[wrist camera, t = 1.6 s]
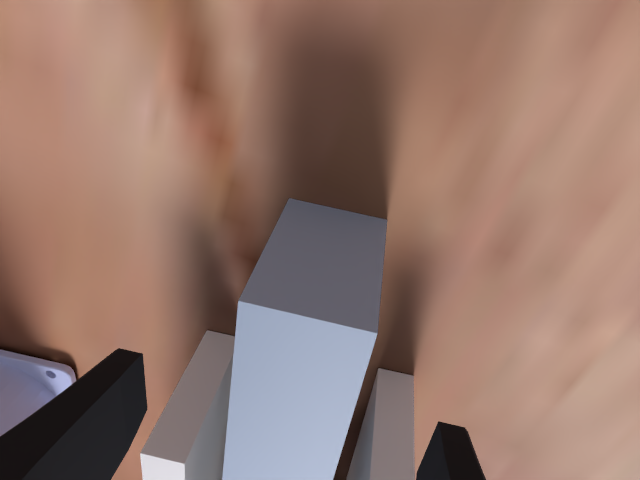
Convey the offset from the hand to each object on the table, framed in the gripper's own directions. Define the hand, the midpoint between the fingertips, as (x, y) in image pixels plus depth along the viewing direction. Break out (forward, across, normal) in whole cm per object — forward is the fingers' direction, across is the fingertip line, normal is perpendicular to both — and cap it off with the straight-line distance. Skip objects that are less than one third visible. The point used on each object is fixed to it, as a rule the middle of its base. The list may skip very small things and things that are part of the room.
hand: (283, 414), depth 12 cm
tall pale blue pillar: (+7, 0, +4) cm, 8 cm away
